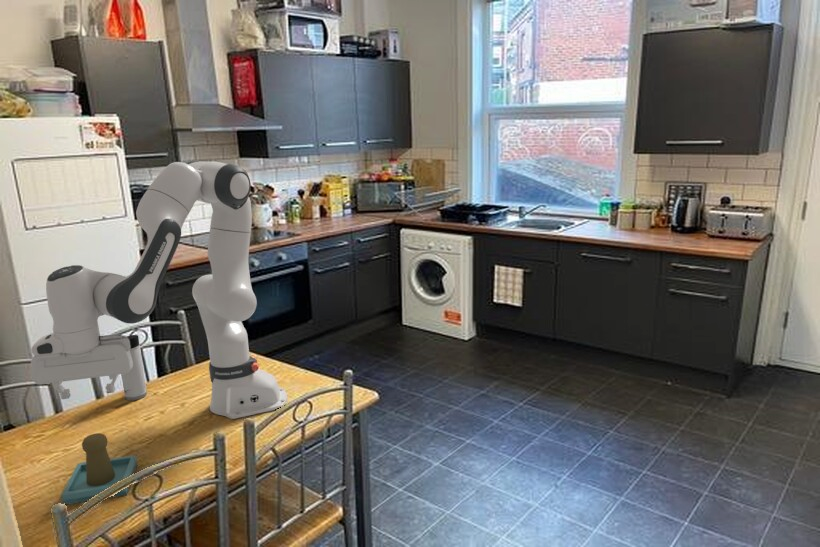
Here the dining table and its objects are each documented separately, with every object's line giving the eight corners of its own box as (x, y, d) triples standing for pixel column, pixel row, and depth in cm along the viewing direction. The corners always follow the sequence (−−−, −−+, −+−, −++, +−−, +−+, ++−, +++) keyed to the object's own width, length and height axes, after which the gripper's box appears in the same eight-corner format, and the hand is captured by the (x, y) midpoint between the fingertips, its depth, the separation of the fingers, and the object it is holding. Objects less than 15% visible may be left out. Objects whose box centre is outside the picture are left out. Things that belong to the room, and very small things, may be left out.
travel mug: (124, 402, 180) (114, 340, 175) (125, 394, 186) (115, 334, 181) (147, 398, 182) (138, 337, 177) (146, 390, 188) (138, 330, 183)
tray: (137, 464, 147) (135, 455, 146) (126, 495, 134) (125, 485, 134) (79, 472, 144) (77, 463, 143) (63, 505, 131) (61, 495, 131)
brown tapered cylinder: (103, 487, 135) (95, 444, 133) (80, 484, 137) (72, 442, 134) (120, 472, 141) (114, 431, 138) (98, 470, 142) (91, 428, 140)
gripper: (130, 328, 138) (139, 382, 142) (32, 339, 133) (44, 395, 137) (125, 337, 132) (135, 394, 136) (22, 349, 127) (35, 407, 131)
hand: (88, 394), depth 136 cm, fingers open, 8 cm apart
